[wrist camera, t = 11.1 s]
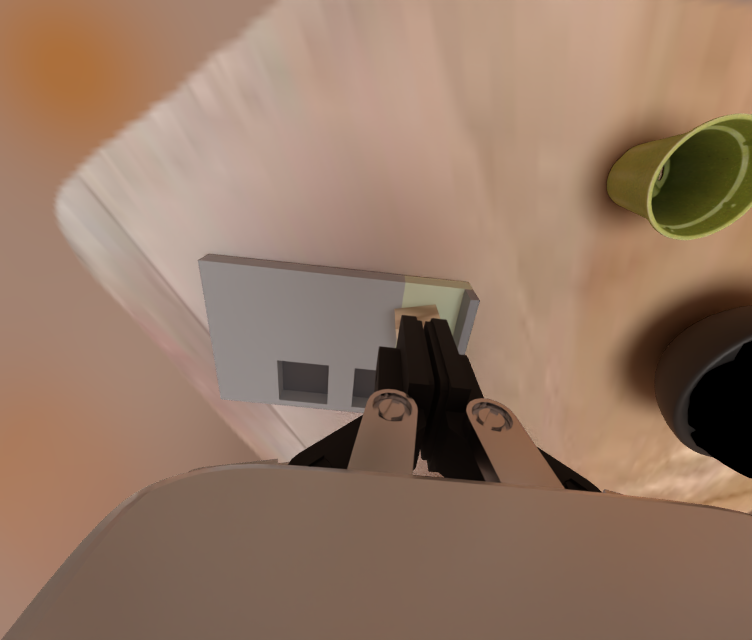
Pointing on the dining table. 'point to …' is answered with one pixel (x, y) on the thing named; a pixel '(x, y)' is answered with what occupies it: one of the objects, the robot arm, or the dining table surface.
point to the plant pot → (689, 178)
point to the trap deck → (313, 327)
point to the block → (416, 314)
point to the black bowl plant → (711, 387)
